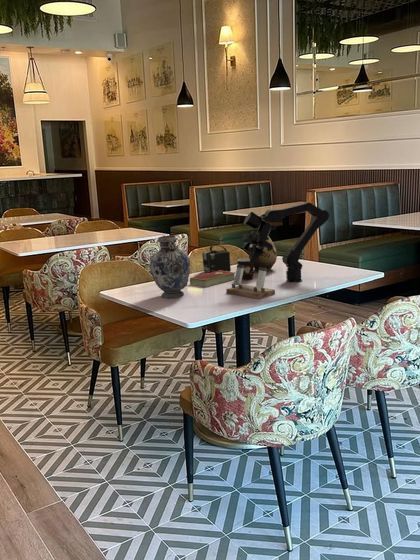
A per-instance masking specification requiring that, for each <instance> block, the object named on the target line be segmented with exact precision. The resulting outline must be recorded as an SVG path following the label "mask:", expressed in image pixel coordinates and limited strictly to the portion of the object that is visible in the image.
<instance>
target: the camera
mask: <svg viewBox="0 0 420 560" xmlns="http://www.w3.org/2000/svg"><path fill="white" fill-rule="evenodd" d="M217 246H218V247H221V248H222V249H220V250H213V247H217ZM230 256H231V255H230V251H228V250H227V248H225V247H224V246H222V245H219V244H212V245H210V247H209V250H208V251H203V252H202V266H203V272H205V273H206V274H207V273H211V272H216V271H220V270H221V271H228V272H231V269H232V267H231V258H230Z"/></svg>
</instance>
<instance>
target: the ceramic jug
mask: <svg viewBox="0 0 420 560" xmlns="http://www.w3.org/2000/svg"><path fill="white" fill-rule="evenodd" d="M262 221H264V220H262ZM264 222H268V223H269V221H264ZM268 238H269V240H266V241H268V242H269V243H271V244H272V245H273V249H272V251H268V250H267V249H268V248H266V247H265V249H264V253H263V254H262V255H260V256H259V257H258V258H257V259H256V260H255V261H254V262H256V261H260V262H261V264H262V266H261V264H260V263H259V262H257V263H255V265H254V271H256V270H257V269H258V268H259V267H260V266H261V267H262V268H267V272H270V271H271V270H272V269H273V267H274V265H275V263H276V262H277V258H278V253H277V248H276V246H275V243H274V241H272V239H271V238H270V236H269V235H268ZM248 258H250V252H248ZM256 272H259V270H257V271H256Z"/></svg>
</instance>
